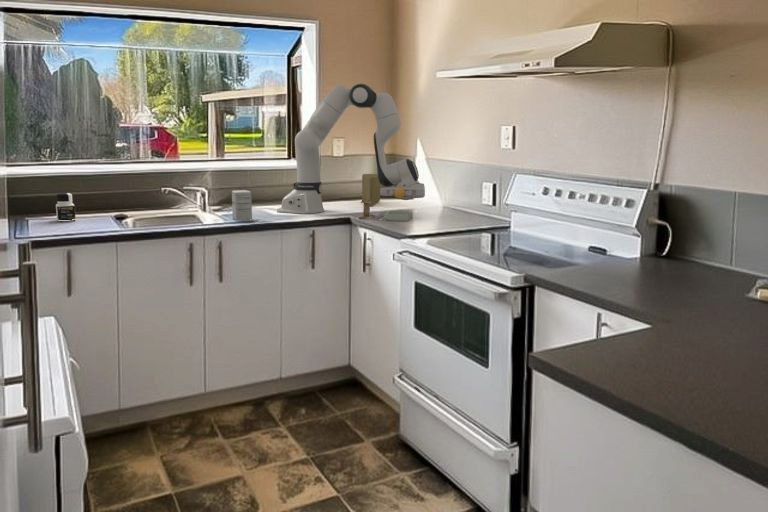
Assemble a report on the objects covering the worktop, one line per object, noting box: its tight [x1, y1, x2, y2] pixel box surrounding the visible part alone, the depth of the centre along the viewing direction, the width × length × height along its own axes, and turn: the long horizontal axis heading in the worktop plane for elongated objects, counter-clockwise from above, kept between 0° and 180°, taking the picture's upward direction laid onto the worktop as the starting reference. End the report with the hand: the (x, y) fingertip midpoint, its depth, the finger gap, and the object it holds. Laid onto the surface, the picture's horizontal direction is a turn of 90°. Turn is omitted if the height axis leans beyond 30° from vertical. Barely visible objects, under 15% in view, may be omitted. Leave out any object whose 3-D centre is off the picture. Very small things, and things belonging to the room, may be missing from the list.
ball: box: [394, 188, 405, 200], centre depth 330 cm, size 5×5×5 cm
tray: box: [384, 210, 413, 222], centre depth 332 cm, size 10×10×3 cm
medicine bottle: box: [55, 192, 77, 220], centre depth 323 cm, size 7×7×12 cm
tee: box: [358, 199, 376, 220], centre depth 335 cm, size 6×6×8 cm
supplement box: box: [231, 189, 253, 221], centre depth 329 cm, size 7×7×13 cm
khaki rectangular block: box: [361, 173, 382, 208], centre depth 383 cm, size 22×10×15 cm, turn 1°
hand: (399, 193), depth 329 cm, fingers closed on ball, 5 cm apart
